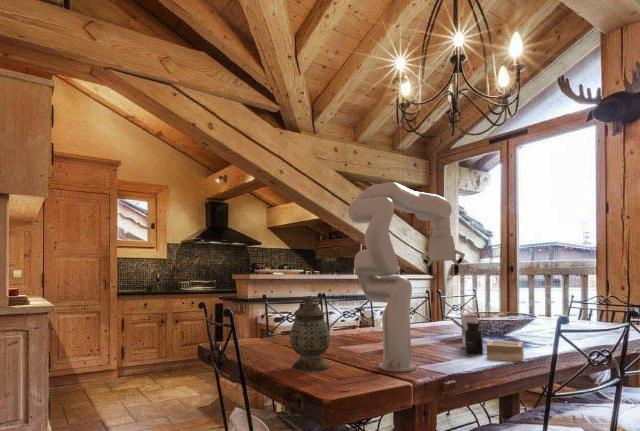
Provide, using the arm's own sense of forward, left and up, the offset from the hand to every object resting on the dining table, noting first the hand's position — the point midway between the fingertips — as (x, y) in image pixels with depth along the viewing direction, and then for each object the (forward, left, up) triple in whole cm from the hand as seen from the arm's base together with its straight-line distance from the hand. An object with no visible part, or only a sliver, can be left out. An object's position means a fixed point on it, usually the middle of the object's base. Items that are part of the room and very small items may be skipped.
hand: (443, 275), depth 191 cm
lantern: (-43, +39, -31) cm, 66 cm away
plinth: (+3, -21, -31) cm, 38 cm away
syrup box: (+18, -6, -31) cm, 36 cm away
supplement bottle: (+7, -9, -31) cm, 33 cm away
